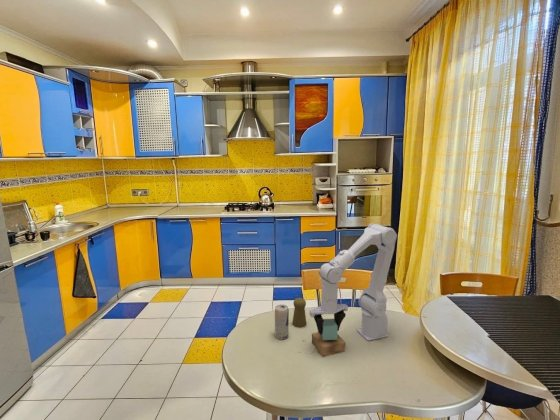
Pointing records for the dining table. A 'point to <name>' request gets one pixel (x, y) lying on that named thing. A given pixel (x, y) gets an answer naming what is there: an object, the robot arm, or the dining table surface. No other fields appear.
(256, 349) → the dining table surface
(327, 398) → the dining table surface
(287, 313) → the energy drink
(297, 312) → the cork
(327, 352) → the walnut block
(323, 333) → the teal cube
